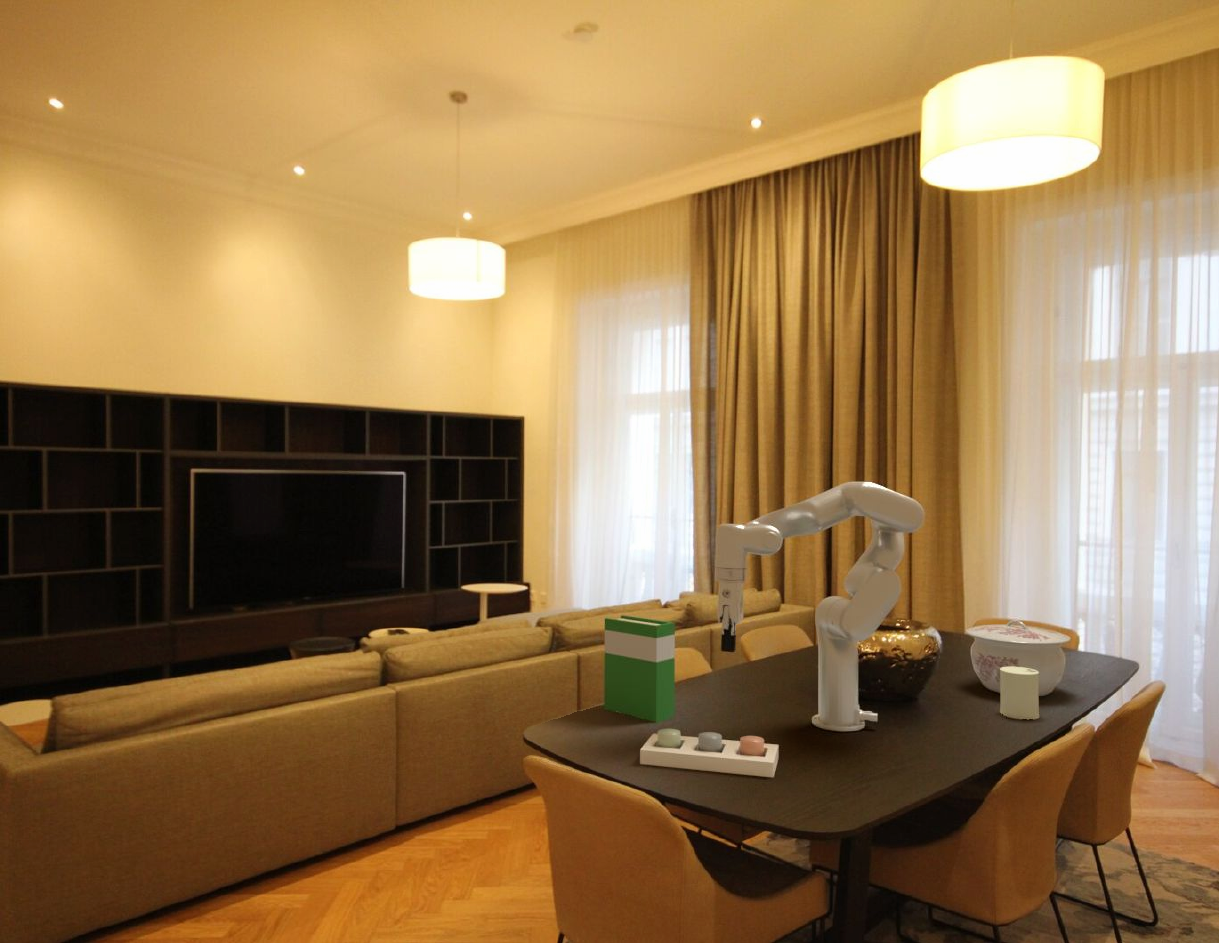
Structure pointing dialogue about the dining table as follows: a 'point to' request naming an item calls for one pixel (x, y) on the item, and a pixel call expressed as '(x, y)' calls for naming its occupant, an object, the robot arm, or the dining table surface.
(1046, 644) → the chamber pot
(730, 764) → the button panel
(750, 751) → the terracotta button
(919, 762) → the dining table surface
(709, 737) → the grey button
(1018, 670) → the can
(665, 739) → the sage button
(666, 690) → the hardback book
